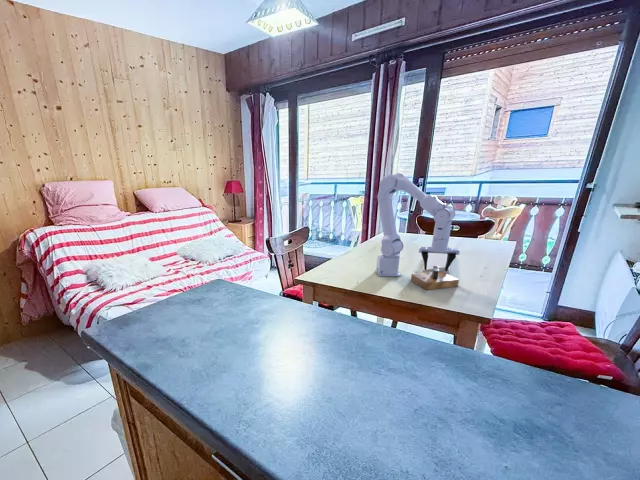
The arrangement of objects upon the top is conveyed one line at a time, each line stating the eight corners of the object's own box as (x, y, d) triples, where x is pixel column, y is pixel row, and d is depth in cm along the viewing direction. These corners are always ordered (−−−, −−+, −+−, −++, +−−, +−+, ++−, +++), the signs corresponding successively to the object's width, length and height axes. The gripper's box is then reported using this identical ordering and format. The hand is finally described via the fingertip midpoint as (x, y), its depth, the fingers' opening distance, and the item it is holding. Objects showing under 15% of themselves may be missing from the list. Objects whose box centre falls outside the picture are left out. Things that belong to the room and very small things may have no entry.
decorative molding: (424, 280, 148) (449, 277, 143) (422, 270, 147) (448, 266, 142) (429, 258, 175) (450, 255, 170) (427, 250, 174) (449, 246, 169)
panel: (425, 289, 132) (427, 282, 131) (410, 280, 143) (411, 273, 141) (457, 286, 134) (459, 279, 133) (440, 277, 144) (441, 270, 143)
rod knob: (437, 279, 134) (438, 270, 132) (432, 279, 135) (434, 270, 133) (436, 274, 139) (437, 265, 138) (432, 273, 140) (433, 265, 139)
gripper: (460, 236, 131) (454, 268, 137) (420, 234, 137) (416, 265, 142) (462, 240, 125) (456, 273, 131) (421, 239, 131) (416, 270, 136)
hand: (435, 269), depth 136 cm, fingers open, 7 cm apart
